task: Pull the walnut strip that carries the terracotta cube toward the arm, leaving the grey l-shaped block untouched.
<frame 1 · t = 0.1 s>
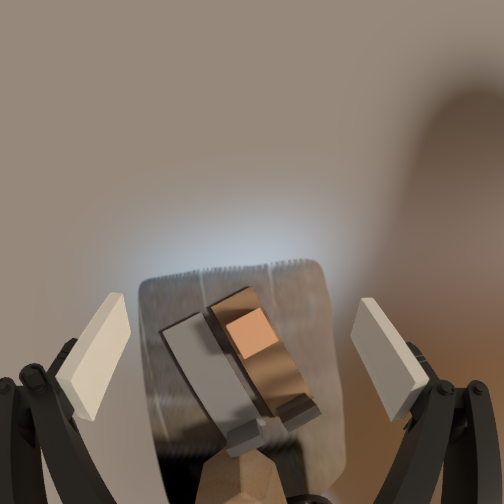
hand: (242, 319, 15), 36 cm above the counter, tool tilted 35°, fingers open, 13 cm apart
walnut strip: (266, 358, 44), point 4 cm above the counter, slide at 0.0 cm, touching terracotta cube
grey l-shaped block: (212, 385, 42), point 4 cm above the counter, slide at 0.0 cm
wooden block: (239, 463, 43), on the counter
terracotta cube: (250, 331, 48), point 1 cm above the counter, touching walnut strip
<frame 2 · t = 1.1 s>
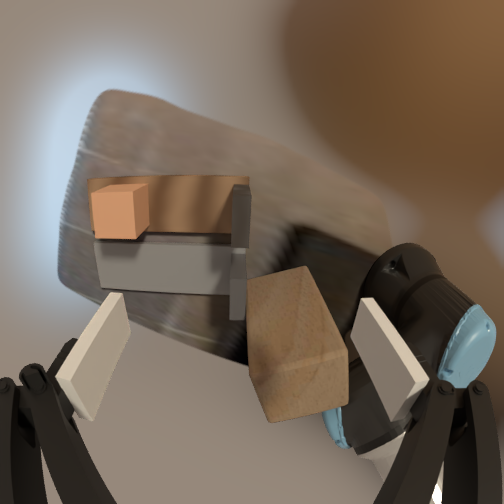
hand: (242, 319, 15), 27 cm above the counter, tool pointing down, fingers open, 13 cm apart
walnut strip: (154, 210, 34), point 5 cm above the counter, slide at 0.0 cm, touching terracotta cube
grey l-shaped block: (159, 280, 38), point 5 cm above the counter, slide at 0.0 cm
wooden block: (281, 297, 46), on the counter
terracotta cube: (129, 204, 37), point 1 cm above the counter, touching walnut strip
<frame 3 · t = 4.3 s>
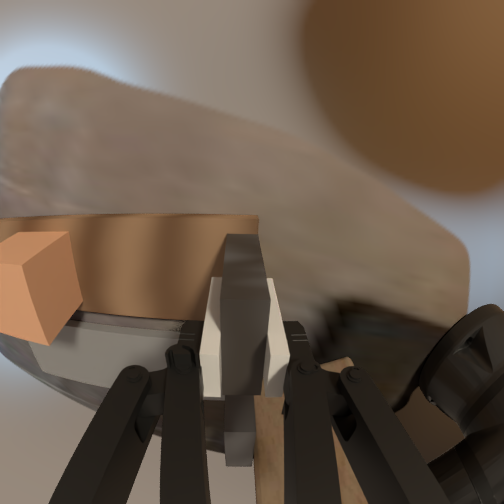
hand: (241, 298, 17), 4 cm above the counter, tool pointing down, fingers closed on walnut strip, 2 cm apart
walnut strip: (75, 292, 16), point 4 cm above the counter, slide at 0.0 cm, touching gripper, terracotta cube
grey l-shaped block: (109, 392, 19), point 4 cm above the counter, slide at 0.0 cm
wooden block: (305, 395, 27), on the counter, touching arm
terracotta cube: (48, 266, 19), point 1 cm above the counter, touching walnut strip
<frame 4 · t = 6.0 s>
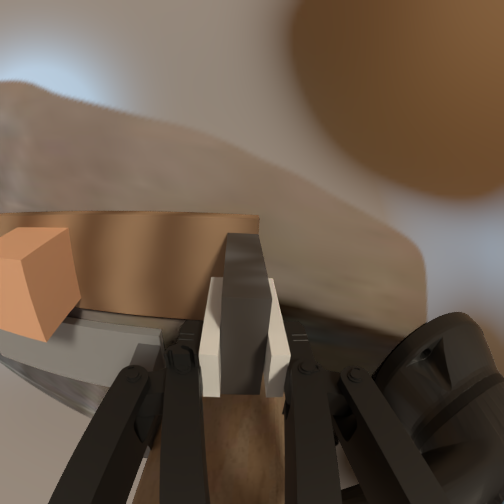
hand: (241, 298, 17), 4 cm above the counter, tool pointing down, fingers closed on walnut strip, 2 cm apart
walnut strip: (73, 288, 15), point 5 cm above the counter, slide at 6.4 cm, touching gripper, terracotta cube
grey l-shaped block: (42, 373, 19), point 5 cm above the counter, slide at -1.0 cm, touching wooden block
wooden block: (243, 399, 25), point 1 cm above the counter, touching arm, grey l-shaped block
terracotta cube: (46, 262, 18), point 1 cm above the counter, touching walnut strip
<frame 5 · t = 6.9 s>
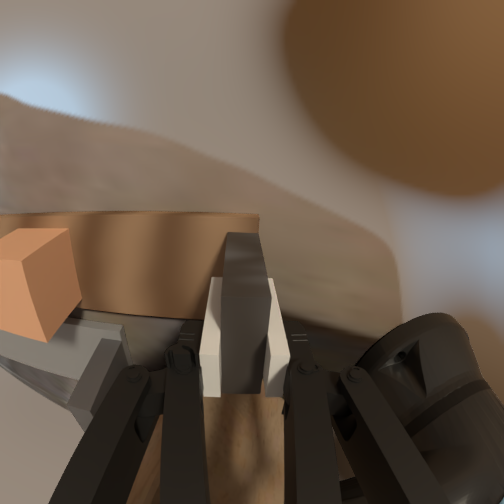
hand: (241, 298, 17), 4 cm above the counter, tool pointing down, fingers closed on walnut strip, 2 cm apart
walnut strip: (74, 289, 16), point 4 cm above the counter, slide at 9.8 cm, touching gripper, terracotta cube
grey l-shaped block: (19, 365, 19), point 4 cm above the counter, slide at -1.2 cm, touching wooden block
wooden block: (219, 392, 24), point 1 cm above the counter, touching arm, grey l-shaped block
terracotta cube: (47, 263, 18), point 1 cm above the counter, touching walnut strip
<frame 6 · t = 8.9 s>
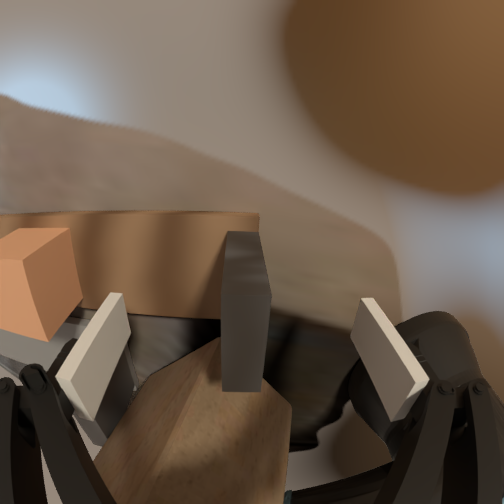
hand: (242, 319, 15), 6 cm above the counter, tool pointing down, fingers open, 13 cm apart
walnut strip: (75, 288, 16), point 5 cm above the counter, slide at 9.9 cm, touching terracotta cube
grey l-shaped block: (19, 364, 19), point 4 cm above the counter, slide at -1.2 cm, touching wooden block
wooden block: (219, 391, 24), point 1 cm above the counter, touching arm, grey l-shaped block
terracotta cube: (48, 262, 19), point 1 cm above the counter, touching walnut strip
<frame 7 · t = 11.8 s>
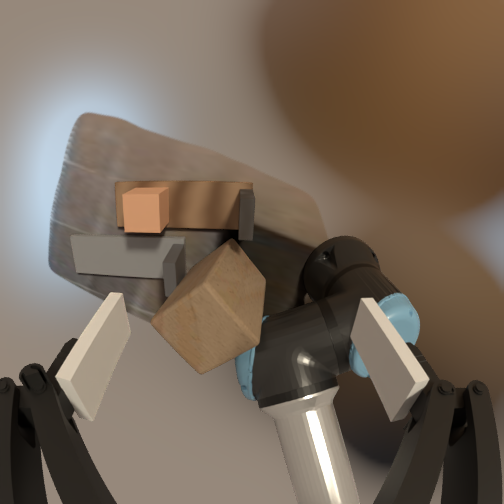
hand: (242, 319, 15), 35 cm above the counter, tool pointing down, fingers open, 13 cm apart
walnut strip: (175, 209, 43), point 5 cm above the counter, slide at 9.9 cm, touching terracotta cube
grey l-shaped block: (117, 264, 46), point 4 cm above the counter, slide at -1.5 cm, touching wooden block
wooden block: (228, 273, 51), point 1 cm above the counter, touching arm, grey l-shaped block
terracotta cube: (152, 204, 46), point 1 cm above the counter, touching walnut strip
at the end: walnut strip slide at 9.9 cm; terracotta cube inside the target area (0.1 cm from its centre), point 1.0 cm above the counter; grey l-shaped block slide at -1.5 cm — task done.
